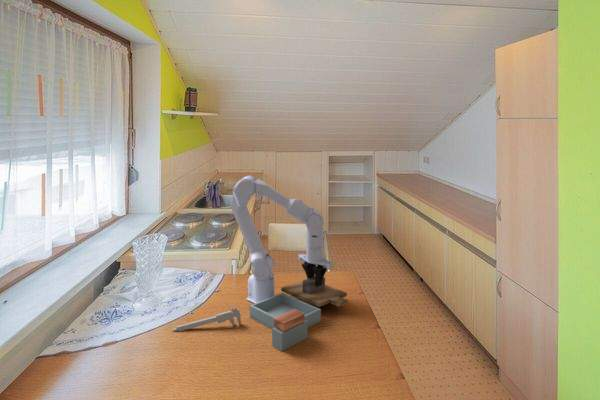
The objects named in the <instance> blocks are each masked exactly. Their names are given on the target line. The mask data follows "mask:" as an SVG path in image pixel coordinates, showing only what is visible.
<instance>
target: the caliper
mask: <svg viewBox="0 0 600 400" xmlns="http://www.w3.org/2000/svg"><path fill="white" fill-rule="evenodd" d="M230 309H231V310H229V311H224V312H221V313H217V314H216V315H214V316H211V317H207V318H203V319H198V320H195V321H190V322H187V323H184V324H180V325H176V326H175V327H174V328H172V332H181V331H186V330H190V329H194V328H197V327H200V326H201V327H202V326H205V325H209V324H213V323H216V322H217V323H218V324H221V323H225V322H227V321H229V322H230V324H231V325H232V326H233V327H235V326H236V322H235V319H234V318H236V320H237V322H238V325H239V326H241V325H242V321H241V313H240V310H239V308H237V306H234V308H233V307H232V306H231V308H230Z"/></svg>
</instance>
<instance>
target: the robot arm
mask: <svg viewBox="0 0 600 400" xmlns="http://www.w3.org/2000/svg"><path fill="white" fill-rule="evenodd" d="M253 195H254V197H255V198H257V197H259V198H260V197H264V198H267V199H269V200H270V201H272V202H274V203H276V204H278V205H280V206H282V207H283V208H284V209H285V212H286V214H288V215H290V216H291V217H292V218H294V219H295V220H297V221H299V222H301V223H302V224H303V223H304V224H305V227H306V233H305V234H306V236H305V237H306V239H305V241H306V249H305V251H306V254H305V253H300V254H297V260H298V261H302V262H303V263H302V264H301V268H302V269H303V271H304V273H305V275H306V279H309V278H312V277H315V282H316V286H317V287H318V286H320V285H322V281H323V277H325V274H326V272H327V271H329V270H332V269H333V267H334V263H333V262H331V261H329V260H328V259H326V258H325V256H324V233H323V232H324V228H323V227H324V225H325V221H324V216H323V214H322V212H320V210H318V209H315V208H314V207H313V206H312V207H310V206H309V205H307V204H306V203H304V202H303V200H302V199H301V198H298V199H297V198H292V199H291V198H289V197H287V196H285V194H282V193H281V192H280V191H278V190H277V189H275V188H274V187H272V186H271V185H269V184H268V183H266V182H264V181H263V180H262V179H259V178H258V179H257V178H256V177H255V176H253V175H246V176H243V178H241V179H239V180H238V181H237V182H236V184H235V185H234V187H233V189H232V196H231V203H230V209H231V211H232V213H233V215H234V218H235V220H236V222H237V225H238V228H239V230H240V232H241V234H242V235H241V236H242V238H243V240H244V242H245V244H246V247H247V249H248V252H249V254H250V261H251V262H250V263H251V264H252V265H251V266H252V274H251V275H249V277H248V280H247V297H246V298H245V300H247V301H249V302H250V303H253V304H255V303H257V302H260V301H262V300H265V299H267V298H270V297H272V296H275V295H276V292H275V290H276V289H275V274H274V272H273V268H274V266H275V260H274V258H273V257H272V256H271V255H270V254H269V253H268V250H267V249H266V248H265V247H264V244H263V242H262V240H261V237H260V235H259V232H258V231H257V227H256V225H255V223H254V220H253V218H252V216H251V215H252V214H251V213H250V210H249V208H248V204H249V202H250V200H251V198H252V196H253Z"/></svg>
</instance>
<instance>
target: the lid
mask: <svg viewBox="0 0 600 400" xmlns="http://www.w3.org/2000/svg"><path fill="white" fill-rule="evenodd" d="M280 291H281V292H282V293H284V294H286V295H289V296H291V297H293V298H296V299H298V300H300V301H303V302H305V303H307V304H310V305H312V306H314V307H317V308H321V307H323V306H325V305H327V304H332V305H334V306H336V307H338V308H339V307H341V306H344V305H346V304H347V303H348V300H347V299H345V297H347V296H348V295H347V294H348V293H347V292H346V291H343V290H340V289H338V288H335V287H332V286H329V285H327V284H326V277H325V276H324V277H323V281H322V285H320V286H318V287H317V286H316V282H315V277H312V278H309V279H307V278H306V279H303V280H301V281H299V282H296V283H295V282H294V283H292V284H288V285H286V286H282V287H281V288H280Z"/></svg>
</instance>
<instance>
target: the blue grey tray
mask: <svg viewBox="0 0 600 400" xmlns="http://www.w3.org/2000/svg"><path fill="white" fill-rule="evenodd" d="M294 309H296V310H298V311H300V312H302V313H304V314H305V322H302V323H300V324H298V325H296V326H294V327H292V328H290V329H288V330H286V331H282V330H280V329H278V328H276V327H274V318H276V317H278V316H281V315H283V314H285V313H287V312H290V311H292V310H294ZM249 318H250V319H252V320H254V321H256V322H258V323H260V324H262V325H264V326H265V327H267V328H269V329H271V342H272V343H271V346H272V347H274V348H276V349H277V350H279V351H280V352H284V351H285V350H287V349H289V348H291V347H292V346H295V345H297V344H298V343H301V342H303V341H304V340H306V339H308V337H309V336H308V335H309V333H308V332H309V331H308V330H309V329H308V328H310V327H312V326H314V325H316V324H317V323H320V322H322V309H321V308H320V307H317V306H315V305H312V304H310V303H308V302H305V301H303V300H301V299H298V298H296V297H294V296H291V295H289V294H286V293H285V292H280V293H277V294H275V296H272V297H270V298H267V299H265V300H262V301H260V302H257V303H253V304H250V305H249Z"/></svg>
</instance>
